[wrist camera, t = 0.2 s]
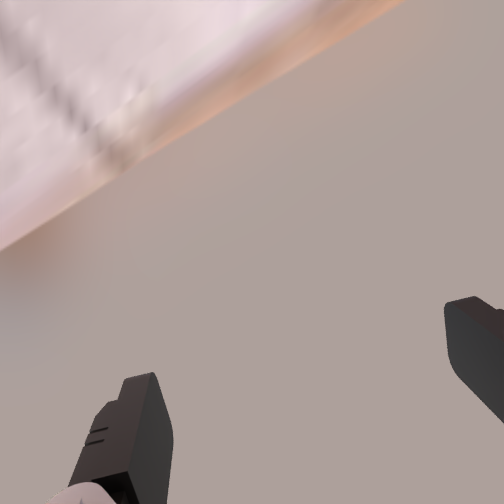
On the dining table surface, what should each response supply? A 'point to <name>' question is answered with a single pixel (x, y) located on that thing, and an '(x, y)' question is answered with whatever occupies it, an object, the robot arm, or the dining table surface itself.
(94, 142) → the dining table surface
